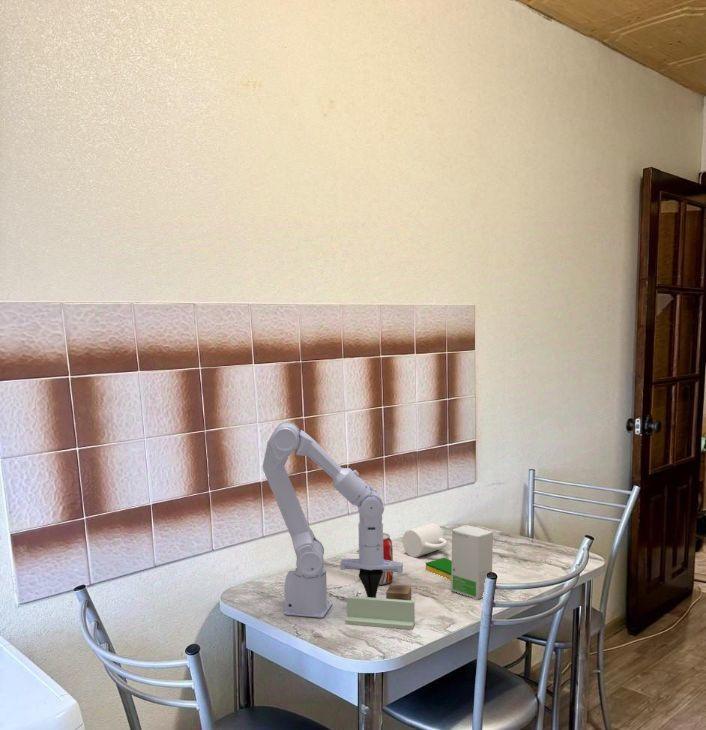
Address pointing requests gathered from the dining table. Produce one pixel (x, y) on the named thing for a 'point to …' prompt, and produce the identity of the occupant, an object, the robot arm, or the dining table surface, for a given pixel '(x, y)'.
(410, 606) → the screen
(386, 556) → the soda can
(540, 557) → the dining table surface
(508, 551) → the dining table surface
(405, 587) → the letter cube
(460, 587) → the skincare box
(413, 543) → the mug
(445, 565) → the dish sponge
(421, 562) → the dining table surface
